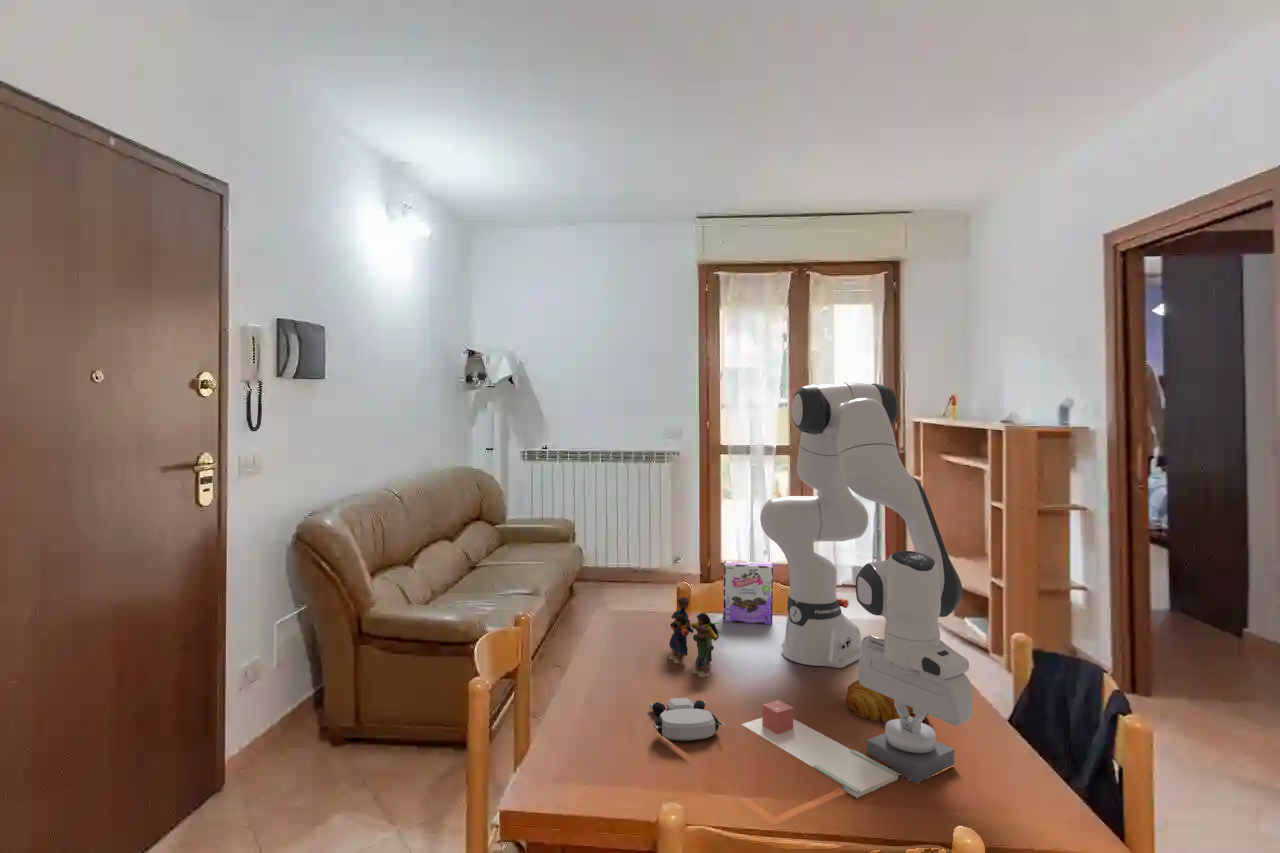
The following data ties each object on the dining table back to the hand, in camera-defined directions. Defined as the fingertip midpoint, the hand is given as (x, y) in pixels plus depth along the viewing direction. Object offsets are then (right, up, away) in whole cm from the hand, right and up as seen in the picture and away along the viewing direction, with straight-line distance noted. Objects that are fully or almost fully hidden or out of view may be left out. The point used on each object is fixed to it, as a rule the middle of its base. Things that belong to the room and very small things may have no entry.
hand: (910, 729), depth 117 cm
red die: (-20, -4, +11) cm, 24 cm away
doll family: (-34, -4, +46) cm, 57 cm away
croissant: (+3, -6, +19) cm, 20 cm away
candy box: (-16, -3, +77) cm, 78 cm away
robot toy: (-38, -6, +11) cm, 40 cm away
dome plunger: (0, -4, 0) cm, 4 cm away
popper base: (0, -6, 0) cm, 6 cm away
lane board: (-17, -6, +2) cm, 18 cm away
